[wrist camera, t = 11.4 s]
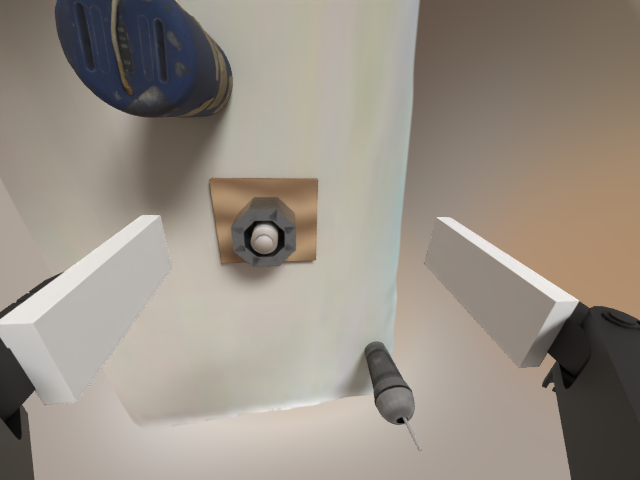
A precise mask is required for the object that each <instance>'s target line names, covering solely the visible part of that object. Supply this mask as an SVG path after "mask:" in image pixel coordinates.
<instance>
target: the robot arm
mask: <svg viewBox="0 0 640 480" xmlns="http://www.w3.org/2000/svg"><path fill="white" fill-rule="evenodd" d="M424 264H425V265H426V266H427V268H428V269H429V270H430V271H431V272H432V273H433V274H434V275H435V276H436V277H437V279H438V280H439V281H440V282H441V283H442V284H443V285H444V286H445V287H446V288H447V290H448V291H449V292H450V293H451V294H452V295H453V296H454V297H455V298H456V299H457V301H458V302H459V303H460V304H461V305H462V306H463V307H464V308H465V309H466V310H467V312H468V313H469V314H470V315H471V316H472V317H473V318H474V319H475V320H476V321H477V323H478V324H480V326H481V327H482V328H483V329H484V330H485V331H486V332H487V334H488V335H489V336H490V337H491V338H492V339H493V340H494V341H495V342H496V343H497V344H498V346H499V347H500V348H501V349H502V350H503V351H504V352H505V353H506V354H507V355H508V356H509V358H510V359H511V360H512V361H513V362H514V363H515V364H516V365H517V366H518V368H526V367H539V366H540V365H541V363H542V361H543V360H544V358H545V356H546V355H547V353H549V354H550V355H551V356H552V357H553V358H554V359H555V360H556V362H555V364H554V365H553V367H552V368H551V370H550V372H549V373H548V375H547V376H546V378H545V379H544V381H543V384H542V387H545V388H547V386H548V384H549V383H552V382H553V383H554V385H555V387H554V388H553V390H552V391H554V392H556V396H557V401H558V407H559V413H560V419H561V424H562V429H563V435H564V441H565V446H566V452H567V458H568V463H569V469H570V475H571V480H640V320H638V319H636V318H634V317H632V316H630V315H628V314H626V313H624V312H621V311H618V310H615V309H612V308H608V307H603V306H594V307H591V308H588V307H587V306H586V305H584V304H583V303H581V302H580V301H579V300H577V299H576V298H574V297H573V296H571V295H569V294H568V293H566V292H564V291H563V290H561V289H560V288H559V287H557V286H555V285H554V284H552V283H551V282H549V281H548V280H546V279H545V278H543V277H541V276H540V275H538V274H537V273H535V272H534V271H532V270H531V269H529V268H528V267H526V266H525V265H523V264H521V263H520V262H518V261H517V260H515V259H514V258H512V257H511V256H509V255H508V254H506V253H504V252H503V251H501V250H500V249H498V248H497V247H495V246H494V245H492V244H490V243H489V242H487V241H486V240H484V239H483V238H481V237H480V236H478V235H477V234H475V233H473V232H472V231H470V230H469V229H467V228H466V227H464V226H463V225H461V224H460V223H458V222H456V221H455V220H453V219H452V218H450V217H436V221H435V224H434V228H433V231H432V235H431V239H430V243H429V247H428V250H427V254H426V258H425V262H424ZM171 269H172V265H171V260H170V256H169V251H168V247H167V242H166V238H165V233H164V229H163V224H162V220H161V216H160V215H141V216H140V217H138V218H137V219H136V220H134V221H133V222H132V223H130V224H129V225H128V226H126V227H125V228H123V229H122V230H121V231H119V232H118V233H117V234H115V235H114V236H113V237H111V238H110V239H108V240H107V241H106V242H104V243H103V244H102V245H100V246H99V247H98V248H96V249H95V250H94V251H92V252H91V253H89V254H88V255H87V256H85V257H84V258H83V259H81V260H80V261H79V262H77V263H76V264H75V265H73V266H72V267H70V268H69V269H68V270H66V271H65V272H62V273H60V274H58V275H56V276H53V277H51V278H49V279H47V280H45V281H43V282H42V283H41V284H39V285H38V286H36V287H35V288H33V289H32V290H31V291H29V292H30V293H28V294H25V295H24V296H22V297H21V298H20V299H18V300H17V302H16V303H12V304H11V305H10V306H8V307H7V308H5V309H4V310H3V311H1V312H0V480H34V472H33V462H32V452H31V442H30V432H29V422H28V413H27V412H26V411H25V408H24V407H23V406H22V404H23V403H24V402H25V401H26V399H27V398H28V397H29V396H30V395H31V394H32V393H33V391H34V390H35V391H36V393H37V395H38V396H39V398H40V399H41V401H42V402H43V404H44V405H52V404H64V403H76V402H78V400H79V399H80V398H81V396H82V395H83V393H84V392H85V390H86V389H87V388H88V386H89V384H91V382H92V381H93V379H94V378H95V376H96V375H97V374H98V372H99V371H100V369H101V368H102V367H103V365H104V364H105V362H106V361H107V360H108V358H109V357H110V355H111V354H112V352H113V351H114V350H115V348H116V347H117V345H118V344H119V343H120V341H121V340H122V338H123V337H124V336H125V334H126V333H127V331H128V330H129V328H130V327H131V326H132V324H133V323H134V321H135V320H136V319H137V317H138V316H139V314H140V313H141V312H142V310H143V309H144V307H145V306H146V304H147V303H148V302H149V300H150V299H151V297H152V296H153V295H154V293H155V292H156V290H157V289H158V288H159V286H160V285H161V283H162V282H163V280H164V279H165V278H166V276H167V275H168V273H169V272H170V271H171Z"/></svg>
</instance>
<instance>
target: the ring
mask: <svg viewBox="0 0 640 480" xmlns="http://www.w3.org/2000/svg"><path fill="white" fill-rule="evenodd" d="M254 221H273V222H274V223H276V224H277V225H278V226H279V227H280V228H281V229H282V230H283V231H284V232H283V233H282V234H281V235H279V236H278V243H277V247H276V249H275V250H274V251H272V252H271V253H268V254H261V253H258V252H256V251H255V250H254V249H253V248H252V246H251V237H252V234H253V233H252V232H251V231H250V225H251V224H252V223H253V222H254ZM231 233H232V242H233V250H234V252H235V253H236V254H237V255H239V256H240V257H241V258H243V259H244V260H245V261H247V262H248V263H249V264H251V265H252V266H253V267H264V266H279V265H280V264H282V263H283V262H284V261H285V260H286V259H287V258H288V257H289V256H290V255H291V254H293V253H294V252H295V251H296V221H295V213H294V212H293V211H292V210H291V209H290V208H289V207H288V206H287V205H286V204H285V203H284V202H283V201H282V200H280V199H279V198H278V197H253V198H252V200H251V201H250V202H249V203H248V204H247V205H246V206H245V207H244V208H243V209H242V210H241V211H240V212H239V213H238V215H237V217H236V219H235V220H234V222H233V224H232V226H231Z"/></svg>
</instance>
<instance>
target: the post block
mask: <svg viewBox="0 0 640 480" xmlns="http://www.w3.org/2000/svg"><path fill="white" fill-rule="evenodd" d="M209 181H210V188H211V195H212V202H213V208H214V215H215V222H216V229H217V236H218V242H219V249H220V256H221V263H240V262H247V261H245V260H244V259H243V258H241V257H240V256H239V255H237V254H236V253H235V252H234V250H233V242H232V233H231V226H232V224H233V222H234V220H235V219H236V217H237V215H238V213H239V212H240V211H241V210H242V209H243V208H244V207H245V206H246V205H247V204H248V203H249V202H250V201H251V200H252V198H253V197H278V198H279V199H280V200H282V201H283V202H284V203H285V204H286V205H287V206H288V207H289V208H290V209H291V210H292V211H293V212H294V213H295V221H296V251H295V252H294V253H293V254H291V255H290V256H289V257H288V258H287V259H286V260H285V261H304V260H316V238H317V200H318V179H289V178H211V179H210V180H209ZM250 231H251V232H252V233H253V234H252V237H251V246H252V248H253V249H254V250H255V251H256V252H258V253H261V254H268V253H271V252H272V251H274V250H275V249H276V247H277V243H278V236H279V235H281V234H282V233H283V232H284V231H283V230H282V229H281V228H280V227H279V226H278V225H277V224H276V223H274V222H273V221H254V222H253V223H252V224H251V225H250Z"/></svg>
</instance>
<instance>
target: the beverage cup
mask: <svg viewBox="0 0 640 480" xmlns="http://www.w3.org/2000/svg"><path fill="white" fill-rule="evenodd" d="M365 353H366V358H367V363H368V367H369V371H370V376H371V380H372V384H373V389H374V398H375V405H376V407H377V409H378V411H379V413H380V414H381V415H382V416H383V417H384V418H385V419H386V420H387V421H388V422H390V423H392V424H396V425H401V424H406V425H407V428H408V430H409V431H410V434H411V436H412V438H413V440H414V442H415V444H416V446H417V448H418V450H419V451H422V449H421V447H420V445H419V443H418V441H417V439H416V437H415V435H414V433H413V431H412V429H411V427H410V425H409V423H408V421H409V420H410V419H411V418H412V416H413V413H414V409H415V403H414V398H413V394H412V390H411V389H410V388H409V386H408V385H407V384H406V382H405V381H404V380H403V378H402V376H401V374H400V372H399V371H398V369H397V367H396V365H395V363H394V362H393V360H392V358H391V356H390V354H389V352H388V351H387V349H386V348H385V346H384V344H383V343H381V342H372V343H370V344H369V345H368V346H367V347H366V348H365Z"/></svg>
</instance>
